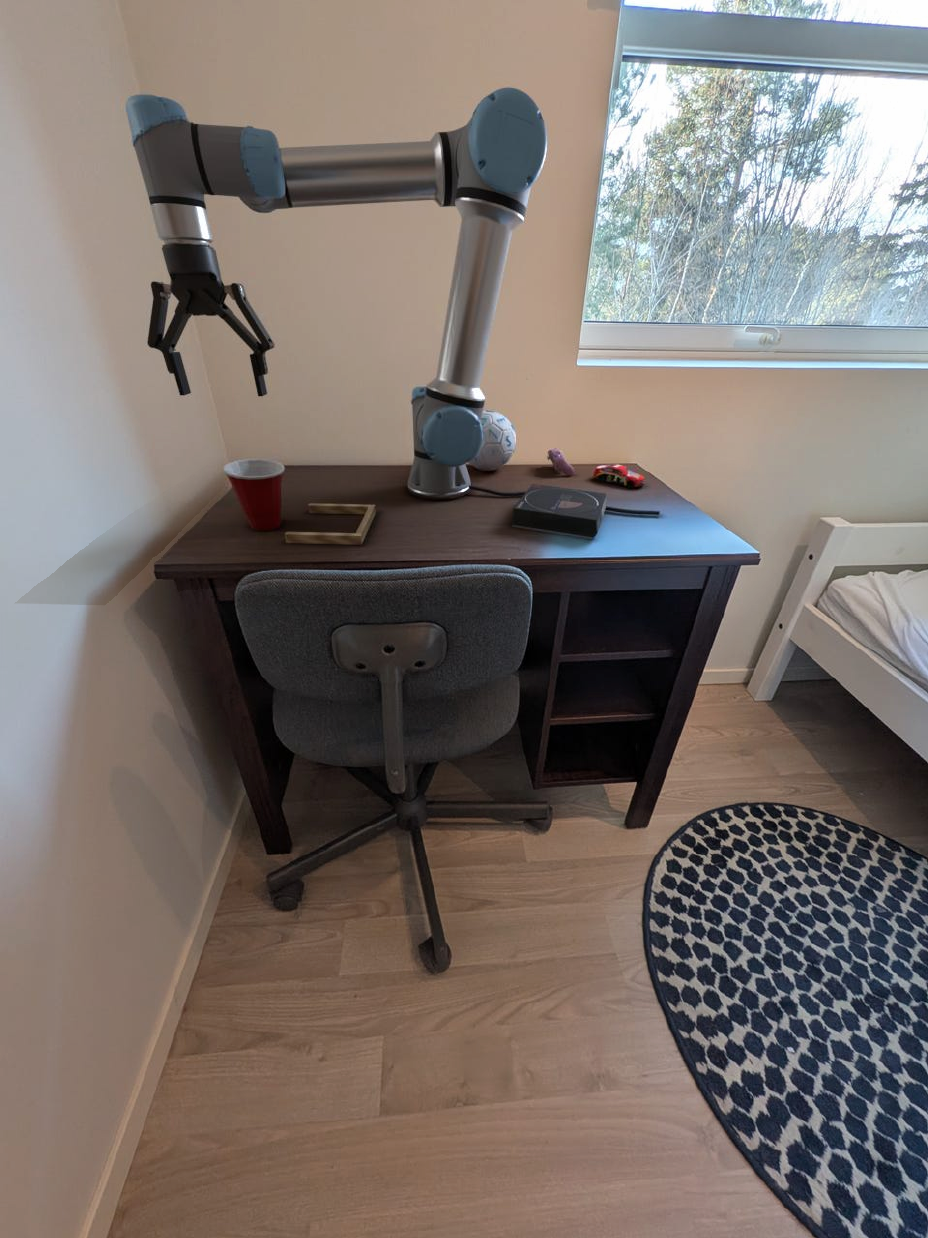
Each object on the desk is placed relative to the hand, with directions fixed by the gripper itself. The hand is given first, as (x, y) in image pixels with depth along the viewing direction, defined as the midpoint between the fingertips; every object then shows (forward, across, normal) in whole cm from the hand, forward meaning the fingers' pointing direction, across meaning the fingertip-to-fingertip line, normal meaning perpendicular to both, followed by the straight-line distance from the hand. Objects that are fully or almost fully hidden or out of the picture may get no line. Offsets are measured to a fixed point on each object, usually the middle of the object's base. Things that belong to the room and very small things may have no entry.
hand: (224, 394), depth 85 cm
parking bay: (+24, -16, +3) cm, 29 cm away
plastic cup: (+24, -3, +3) cm, 24 cm away
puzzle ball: (+24, -51, -38) cm, 67 cm away
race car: (+24, -84, -27) cm, 92 cm away
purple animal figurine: (+24, -71, -37) cm, 83 cm away
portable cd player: (+24, -64, -2) cm, 69 cm away
